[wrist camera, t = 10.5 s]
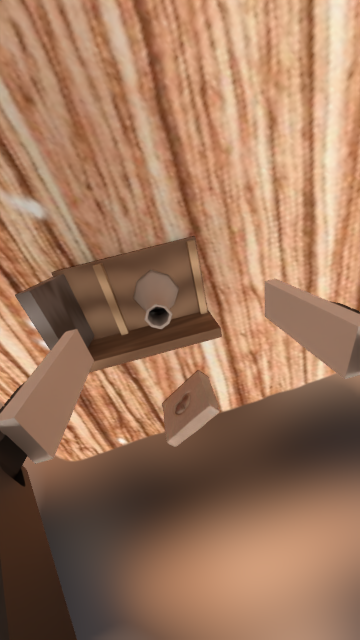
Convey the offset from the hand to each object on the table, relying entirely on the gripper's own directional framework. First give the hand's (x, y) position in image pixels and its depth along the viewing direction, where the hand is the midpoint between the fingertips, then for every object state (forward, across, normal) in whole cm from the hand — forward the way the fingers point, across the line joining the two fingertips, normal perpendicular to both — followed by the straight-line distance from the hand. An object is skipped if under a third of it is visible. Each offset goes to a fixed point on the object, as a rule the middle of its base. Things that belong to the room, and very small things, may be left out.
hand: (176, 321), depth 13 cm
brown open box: (+20, -5, -4) cm, 21 cm away
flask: (+19, -2, -4) cm, 19 cm away
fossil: (+20, -2, -28) cm, 34 cm away
